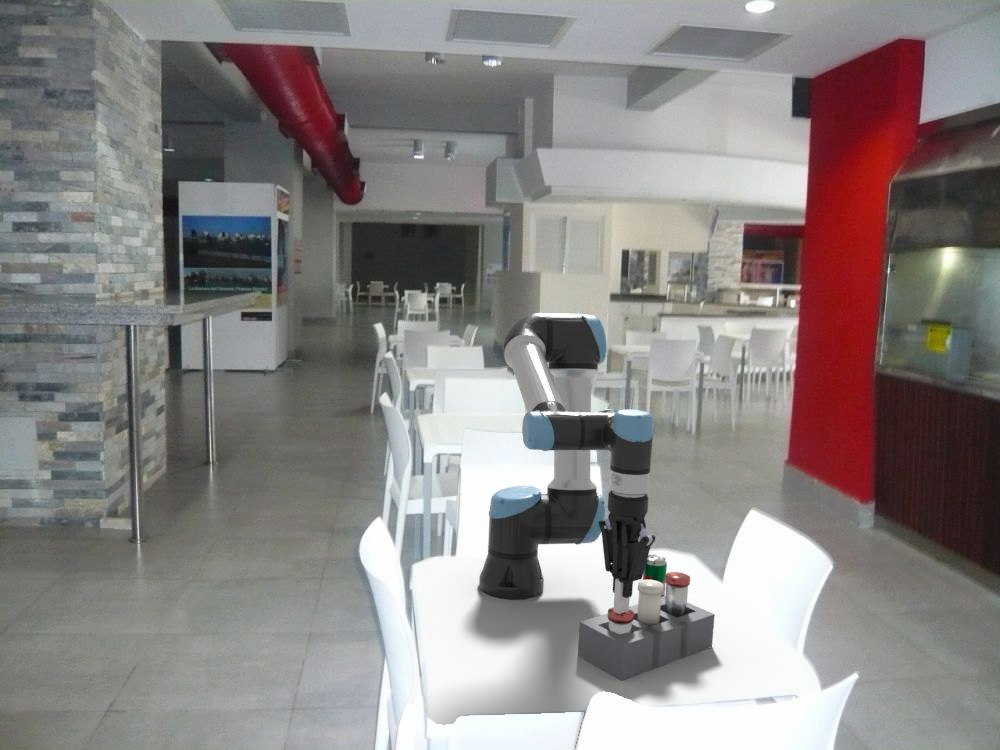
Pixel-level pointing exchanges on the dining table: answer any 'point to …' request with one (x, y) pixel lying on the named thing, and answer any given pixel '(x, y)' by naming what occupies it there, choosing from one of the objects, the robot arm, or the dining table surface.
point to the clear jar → (676, 593)
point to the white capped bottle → (649, 602)
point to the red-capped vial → (620, 622)
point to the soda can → (656, 570)
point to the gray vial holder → (645, 641)
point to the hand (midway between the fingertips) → (621, 611)
